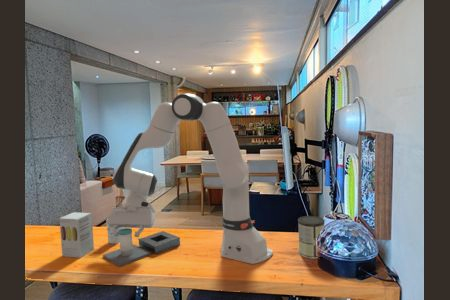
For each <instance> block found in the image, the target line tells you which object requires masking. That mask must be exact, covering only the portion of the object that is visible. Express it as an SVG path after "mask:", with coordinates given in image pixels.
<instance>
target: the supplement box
mask: <svg viewBox="0 0 450 300" xmlns="http://www.w3.org/2000/svg"><path fill="white" fill-rule="evenodd" d="M58 220H59V229H60V230H59V231H60V242H61V254H62V255H61V256H62V257H67V258H77V259H79V258H80V259H81V258H83V257H85V256H86V255H87V254H89V253H90V252H92V251H94V250H95V243H94V230H93V229H94V227H93V217H92V212H77V211H74V212H71V213H69V214H66V215H64V216H61V217H59V219H58Z"/></svg>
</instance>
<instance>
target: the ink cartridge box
mask: <svg viewBox="0 0 450 300" xmlns="http://www.w3.org/2000/svg"><path fill="white" fill-rule="evenodd" d="M107 220H108V218H107V219H106V220H105V222H106V231H107V241H108V242H107V243H108V244H120V239H119V235H118V236H114V235H113V234H114V228H113V227H110V226H109V225H108V223H107ZM125 228H127V227H119V228H118V229H117V231H119V230H121V229H125Z"/></svg>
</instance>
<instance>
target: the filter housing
mask: <svg viewBox="0 0 450 300" xmlns="http://www.w3.org/2000/svg"><path fill="white" fill-rule="evenodd" d="M180 245H181V237H180V236H177V235H175V234H172V233H170V232H167V231H164V230H162V231H159V232H156V233H153V234H150V235H147V236H144V237H141V238H138V247H140V248H142V249H144V250H146V251H148V252H150V254H154V255H159V254H160V253H163V252H165V251H168V250H171V249H173V248H177V247H179V246H180Z"/></svg>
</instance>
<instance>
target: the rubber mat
mask: <svg viewBox="0 0 450 300" xmlns="http://www.w3.org/2000/svg"><path fill="white" fill-rule="evenodd" d="M148 256H151V252H149V251H147V250H145V249H143V248H141V247H139V245H136V244H133V254H132V255H129V256H121V252H120V248H118V249H116V250H112V251H109V252H107V253H104V254H103V255H102V257H103V258H104V259H106V260H107V261H109V262H110V263H112V264H114V265H116V266H117V267H118V268H121V267H123V266H125V265H128V264H131V263H133V262H135V261H138V260H141V259H143V258H144V259H145V257H148Z"/></svg>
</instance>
